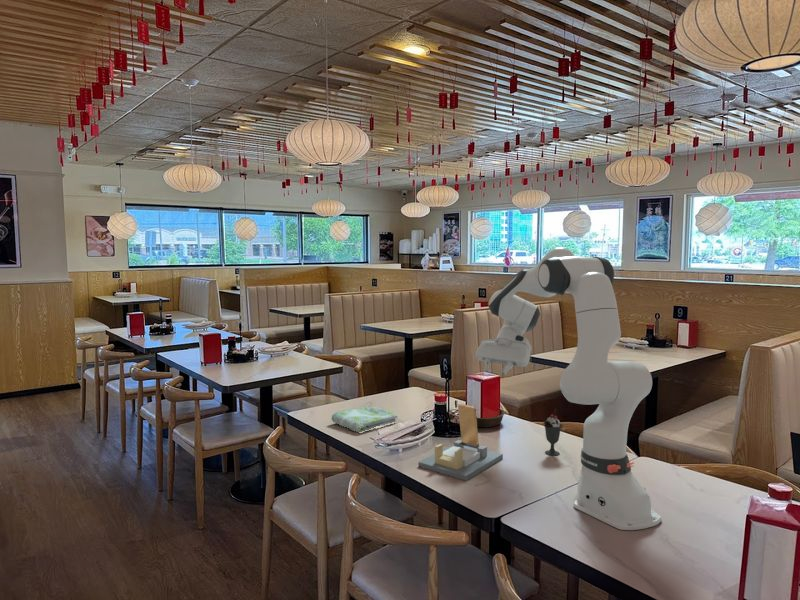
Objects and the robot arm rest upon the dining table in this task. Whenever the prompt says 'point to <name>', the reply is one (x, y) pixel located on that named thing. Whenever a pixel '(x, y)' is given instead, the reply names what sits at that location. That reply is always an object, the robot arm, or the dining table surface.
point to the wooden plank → (468, 426)
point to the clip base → (460, 460)
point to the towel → (363, 418)
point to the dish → (490, 420)
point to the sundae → (552, 433)
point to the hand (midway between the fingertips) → (494, 372)
